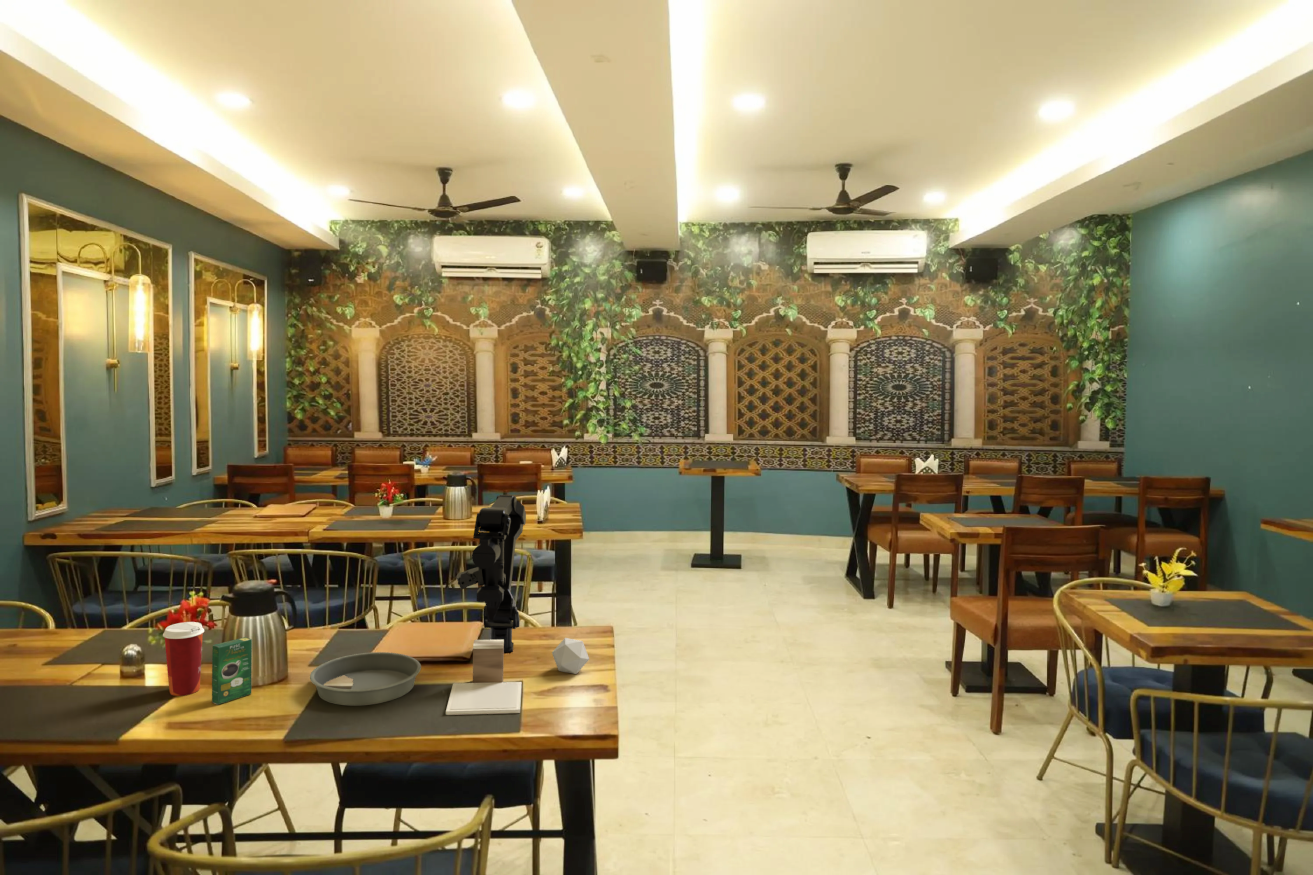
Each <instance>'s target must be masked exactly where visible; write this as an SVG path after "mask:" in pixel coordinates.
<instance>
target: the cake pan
mask: <svg viewBox="0 0 1313 875" xmlns="http://www.w3.org/2000/svg"><path fill="white" fill-rule="evenodd" d="M421 670H422V665H421V663H420V661H419V660H417V659H415V658H414V657H412V656H411V655H410V656H409V655H406V654H403V653H397V652H389V651H388V652H386V651H385V652H384V651H377V652H376V651H375V652H362V653H355V654H350V655H345V656H340V657H336V658H333V659H331V660H329V661H326V662H323V663H321V664H319V665H318V666H317V667H315V668H314V669H313V670H312V671H311V672H310V674H309V679H310V682H311V683H312V684H313V685H314V686H316V690H317V694H318V696H319V698H320V699H322V700H324V701H326V702H328V703H331V704H335V705H340V706H341V705H342V706H368V705H376V704H382V703H386V702H389V701H393V700H396V699H398V698H401V697H403V696H404V695H407V694H408V693H409V692H410V691H411V690H412V689H413V688H414V685H415V682H416V676H417V675H418V674H419V673H420V672H421ZM343 676H344V677H346V678H348V679H351V680H352V685H351V688H337V687H331V686H327V685H325V684H326V683H328V682H331V681H332V680H335V679H337V678H341V677H343Z"/></svg>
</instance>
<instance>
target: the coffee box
mask: <svg viewBox="0 0 1313 875" xmlns="http://www.w3.org/2000/svg"><path fill="white" fill-rule="evenodd" d="M211 646H212V648H211V650H212V652H211V653H212V654H211V656H212V657H211V659H212V660H211V667H212V668H211V703H213V704H214V705H221V704H224V703H225V704H226V703H228V702H231V701H234V700H237V699H240V698H243V697H246V696H249V695H252V689H253V688H252V670H253V669H252V663H253V662H252V660H253V658H252V657H253V656H252V655H253V650H252V649H253V640H252V638H249V637H246V636H243V637H241V638H236V639H233V640H227V641H224V642H220V643H219V642H218V643H215V644H212V645H211Z"/></svg>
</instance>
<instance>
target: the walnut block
mask: <svg viewBox="0 0 1313 875" xmlns="http://www.w3.org/2000/svg"><path fill="white" fill-rule="evenodd" d="M472 646H473V647H472V683H495V682H504V653H505V652H504V640H490V639H474V640H473V645H472Z"/></svg>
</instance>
